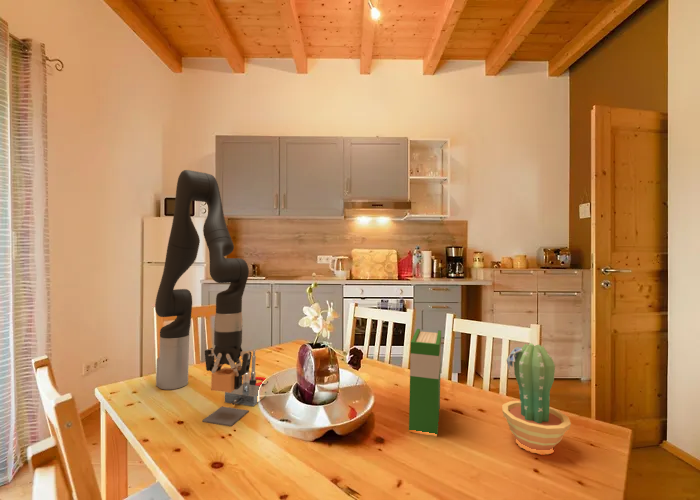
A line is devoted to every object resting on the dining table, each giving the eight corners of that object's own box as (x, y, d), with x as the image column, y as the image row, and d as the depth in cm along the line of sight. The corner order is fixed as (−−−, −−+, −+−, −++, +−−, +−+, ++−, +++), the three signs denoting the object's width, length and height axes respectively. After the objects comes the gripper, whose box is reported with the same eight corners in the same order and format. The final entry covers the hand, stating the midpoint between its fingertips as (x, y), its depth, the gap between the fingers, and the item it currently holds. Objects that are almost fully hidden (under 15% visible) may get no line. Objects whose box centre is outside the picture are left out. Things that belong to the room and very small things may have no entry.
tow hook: (246, 379, 128) (239, 388, 119) (248, 344, 129) (241, 350, 120) (269, 380, 128) (264, 388, 119) (271, 344, 129) (265, 350, 120)
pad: (202, 421, 95) (202, 420, 95) (222, 407, 104) (222, 406, 104) (231, 426, 93) (231, 424, 93) (248, 411, 101) (248, 410, 101)
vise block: (218, 406, 105) (219, 378, 105) (238, 392, 115) (239, 366, 115) (248, 410, 102) (249, 381, 102) (266, 396, 113) (266, 370, 113)
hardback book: (415, 404, 109) (417, 328, 109) (439, 408, 107) (441, 330, 107) (408, 432, 92) (410, 342, 92) (437, 437, 90) (439, 344, 90)
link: (211, 390, 96) (211, 373, 96) (224, 382, 102) (224, 367, 102) (230, 392, 94) (230, 376, 95) (242, 384, 100) (242, 369, 100)
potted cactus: (530, 425, 97) (532, 336, 97) (585, 456, 82) (587, 351, 83) (487, 435, 91) (489, 340, 92) (538, 469, 77) (540, 357, 77)
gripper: (198, 329, 97) (196, 389, 96) (243, 332, 93) (242, 395, 93) (214, 323, 104) (213, 380, 104) (257, 327, 100) (256, 385, 100)
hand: (227, 387), depth 98 cm, fingers closed on link, 6 cm apart
